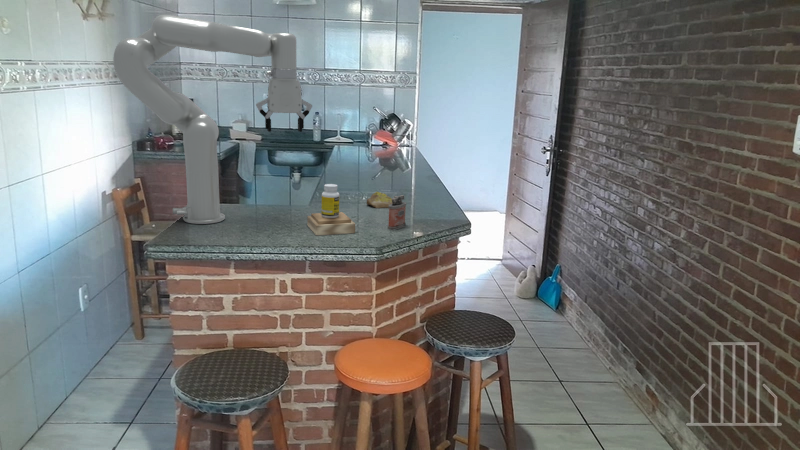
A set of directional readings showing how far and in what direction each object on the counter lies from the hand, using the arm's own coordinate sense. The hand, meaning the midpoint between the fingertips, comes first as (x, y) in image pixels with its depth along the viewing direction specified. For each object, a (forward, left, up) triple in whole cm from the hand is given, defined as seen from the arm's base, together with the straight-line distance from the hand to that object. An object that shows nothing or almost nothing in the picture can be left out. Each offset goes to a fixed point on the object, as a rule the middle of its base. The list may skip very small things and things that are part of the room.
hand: (284, 131), depth 187 cm
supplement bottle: (+11, -16, -24) cm, 31 cm away
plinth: (+11, -16, -28) cm, 34 cm away
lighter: (+32, -18, -28) cm, 46 cm away
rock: (+37, +12, -29) cm, 48 cm away
